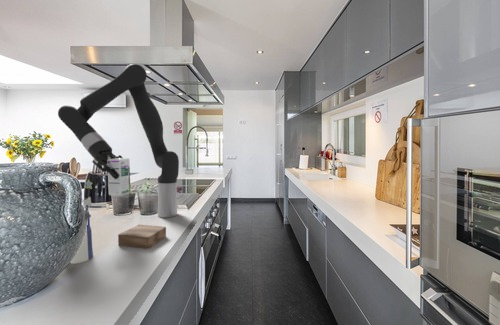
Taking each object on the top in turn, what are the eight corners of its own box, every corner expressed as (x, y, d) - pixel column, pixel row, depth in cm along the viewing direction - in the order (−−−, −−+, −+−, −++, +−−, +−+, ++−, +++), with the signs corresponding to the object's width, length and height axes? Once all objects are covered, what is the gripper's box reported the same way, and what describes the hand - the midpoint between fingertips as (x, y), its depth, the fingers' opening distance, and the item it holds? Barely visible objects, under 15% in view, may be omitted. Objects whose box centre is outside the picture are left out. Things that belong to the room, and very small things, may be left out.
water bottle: (71, 253, 86) (69, 178, 84) (98, 252, 87) (97, 178, 85) (55, 264, 78) (53, 182, 76) (86, 263, 79) (84, 182, 77)
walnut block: (139, 234, 105) (138, 224, 104) (165, 236, 102) (165, 226, 102) (118, 245, 93) (118, 234, 93) (148, 248, 91) (148, 237, 90)
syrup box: (121, 196, 100) (120, 159, 99) (107, 195, 101) (107, 158, 100) (130, 193, 105) (130, 158, 104) (118, 192, 106) (117, 157, 105)
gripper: (87, 139, 96) (116, 172, 94) (115, 139, 110) (140, 168, 108) (76, 153, 97) (104, 185, 96) (104, 151, 111) (129, 180, 110)
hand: (123, 176), depth 102 cm, fingers closed on syrup box, 5 cm apart
